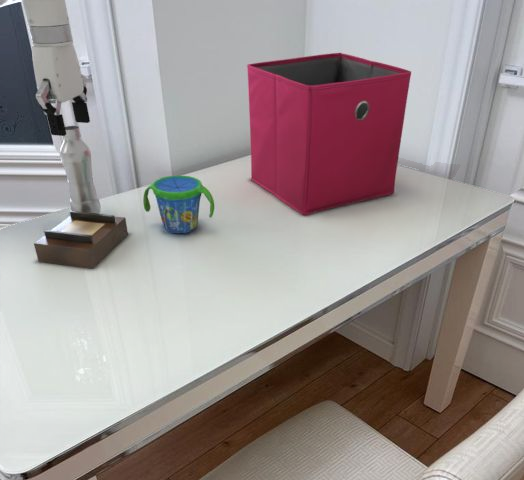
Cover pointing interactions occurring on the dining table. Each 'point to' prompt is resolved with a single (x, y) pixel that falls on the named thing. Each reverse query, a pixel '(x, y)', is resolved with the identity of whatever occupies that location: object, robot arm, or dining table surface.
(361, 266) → the dining table surface
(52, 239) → the brown wooden base
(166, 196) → the snack cup
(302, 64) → the storage bin
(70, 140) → the silver metal bottle
